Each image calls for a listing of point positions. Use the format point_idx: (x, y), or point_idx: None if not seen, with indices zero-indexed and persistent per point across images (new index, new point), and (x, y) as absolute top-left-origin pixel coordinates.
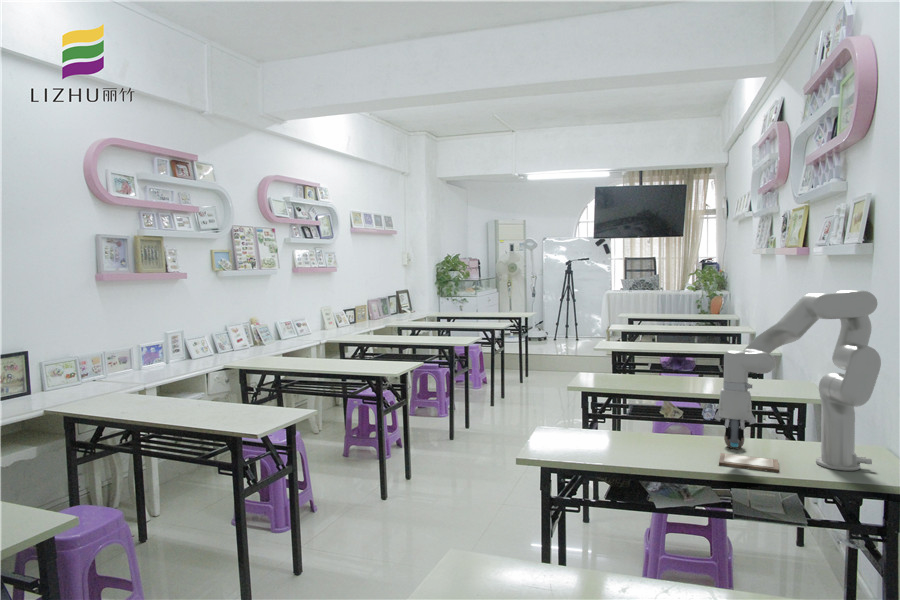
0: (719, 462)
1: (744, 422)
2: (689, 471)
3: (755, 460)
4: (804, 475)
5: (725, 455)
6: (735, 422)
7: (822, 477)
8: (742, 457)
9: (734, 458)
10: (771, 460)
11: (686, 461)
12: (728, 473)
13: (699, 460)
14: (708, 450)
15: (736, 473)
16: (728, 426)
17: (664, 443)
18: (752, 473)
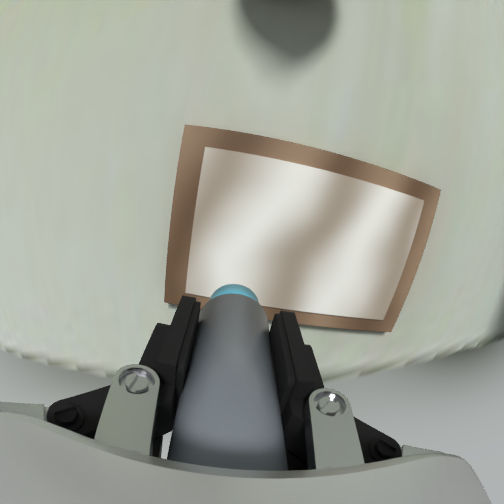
0: (166, 302)
1: (357, 443)
2: (90, 371)
3: (345, 239)
4: (443, 324)
5: (202, 181)
6: None
7: (471, 323)
8: (292, 197)
9: (244, 228)
10: (413, 221)
11: (57, 272)
12: None
13: (92, 244)
14: (143, 49)
15: None
16: (162, 426)
17: (10, 47)
18: None
